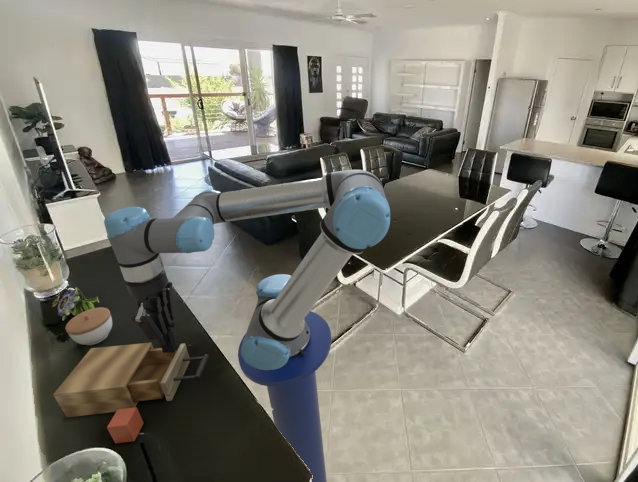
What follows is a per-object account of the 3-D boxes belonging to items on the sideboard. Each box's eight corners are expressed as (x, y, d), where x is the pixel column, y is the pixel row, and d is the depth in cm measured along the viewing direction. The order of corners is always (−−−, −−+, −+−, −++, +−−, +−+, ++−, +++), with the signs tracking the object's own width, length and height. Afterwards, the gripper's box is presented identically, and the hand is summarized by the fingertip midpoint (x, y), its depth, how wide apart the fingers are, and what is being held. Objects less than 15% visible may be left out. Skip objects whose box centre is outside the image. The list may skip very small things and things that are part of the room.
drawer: (214, 357, 95) (209, 340, 93) (199, 397, 84) (193, 379, 81) (137, 365, 93) (130, 348, 90) (111, 407, 82) (102, 389, 79)
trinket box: (116, 341, 102) (106, 318, 98) (72, 357, 96) (60, 333, 93) (117, 320, 110) (108, 298, 106) (77, 334, 104) (65, 311, 101)
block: (144, 422, 79) (136, 406, 77) (134, 441, 75) (126, 425, 73) (125, 425, 79) (117, 409, 76) (115, 443, 75) (106, 427, 72)
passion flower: (72, 330, 113) (47, 304, 111) (106, 307, 120) (83, 282, 118) (70, 329, 105) (43, 301, 103) (107, 305, 112) (83, 279, 110)
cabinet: (159, 363, 94) (151, 342, 91) (134, 409, 82) (123, 386, 79) (101, 369, 92) (91, 348, 89) (66, 417, 80) (52, 394, 77)
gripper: (144, 258, 78) (167, 331, 87) (107, 293, 66) (139, 374, 75) (176, 257, 78) (196, 329, 88) (145, 292, 66) (173, 372, 76)
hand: (170, 350), depth 82 cm, fingers closed
